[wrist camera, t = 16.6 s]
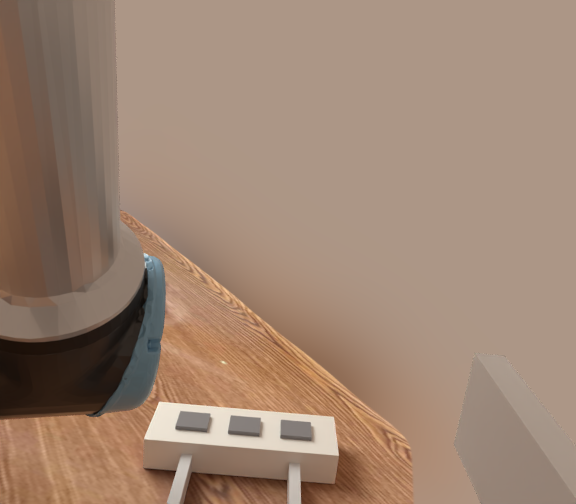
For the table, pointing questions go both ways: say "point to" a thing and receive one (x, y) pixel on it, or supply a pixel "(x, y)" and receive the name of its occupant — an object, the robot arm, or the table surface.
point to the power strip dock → (241, 446)
